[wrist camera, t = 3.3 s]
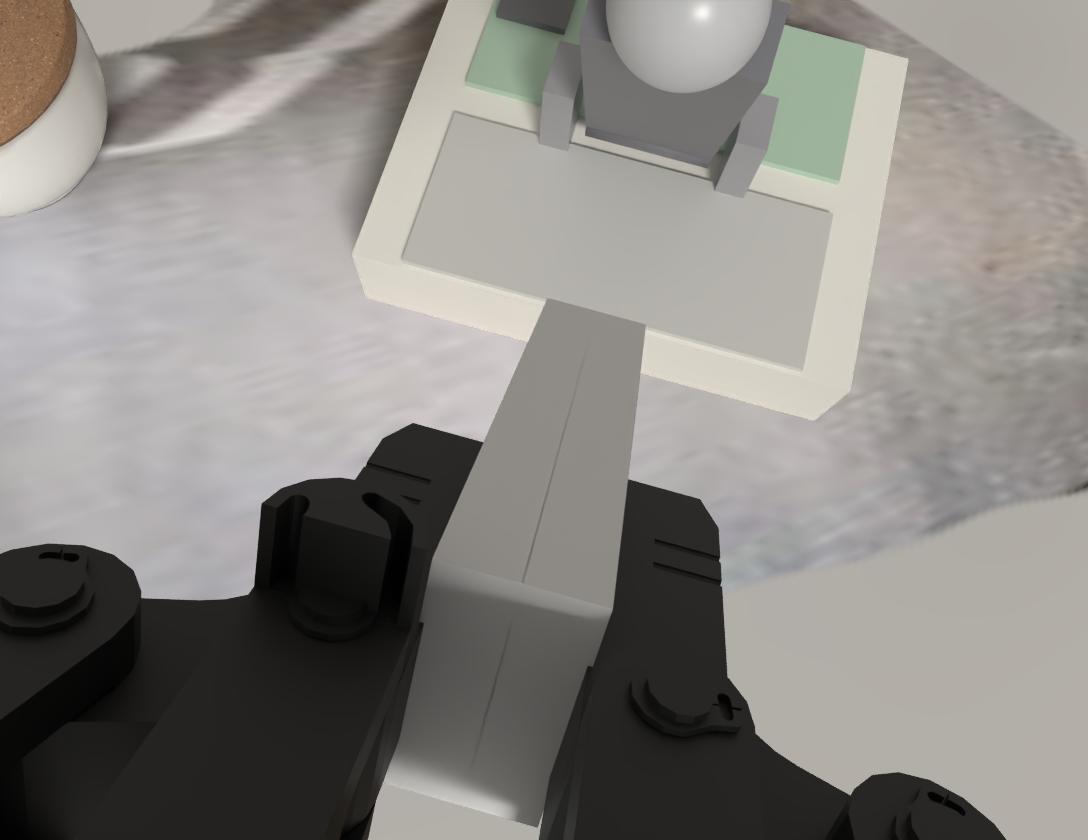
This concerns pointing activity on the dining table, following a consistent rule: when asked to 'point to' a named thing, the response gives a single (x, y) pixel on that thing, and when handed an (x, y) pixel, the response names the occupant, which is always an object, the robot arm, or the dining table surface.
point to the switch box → (640, 207)
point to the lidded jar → (46, 104)
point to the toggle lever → (675, 71)
